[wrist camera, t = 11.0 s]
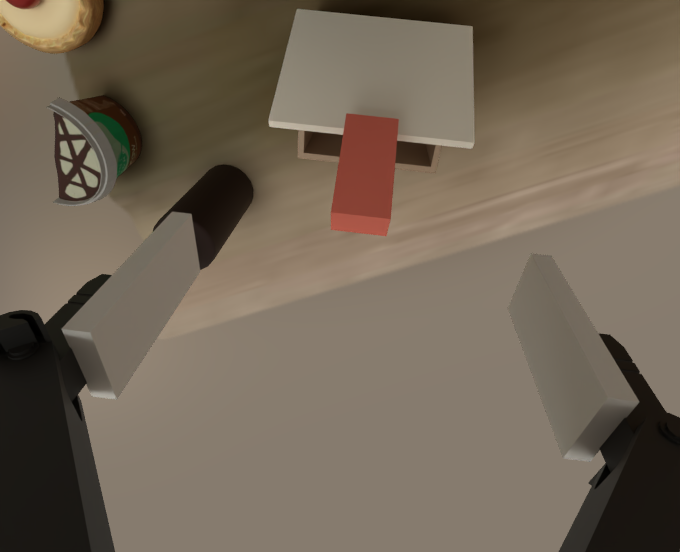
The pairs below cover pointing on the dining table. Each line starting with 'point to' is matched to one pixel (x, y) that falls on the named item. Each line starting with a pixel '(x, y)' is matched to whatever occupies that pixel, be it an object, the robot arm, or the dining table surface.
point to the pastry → (51, 22)
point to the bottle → (215, 208)
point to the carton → (406, 152)
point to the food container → (92, 147)
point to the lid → (375, 99)
